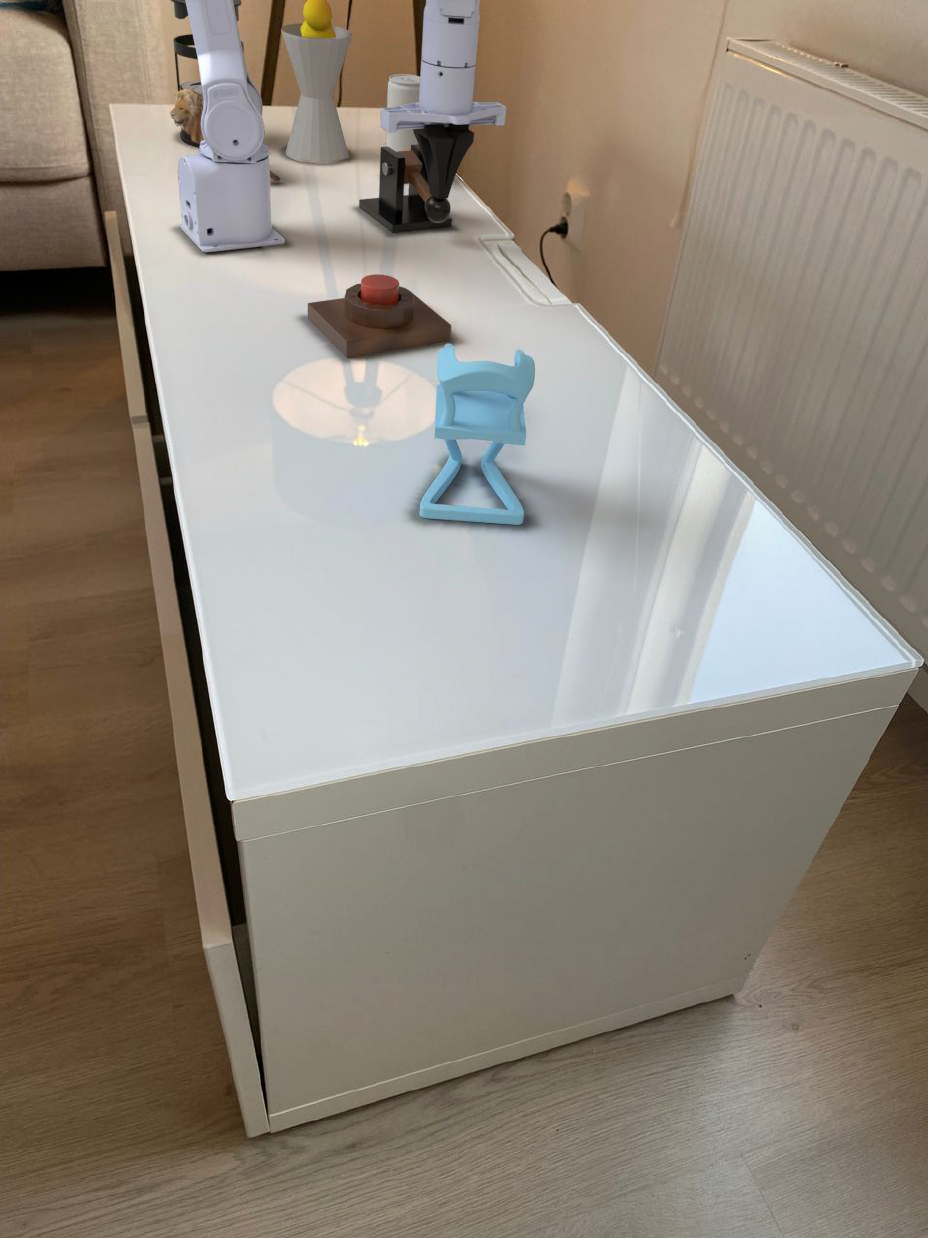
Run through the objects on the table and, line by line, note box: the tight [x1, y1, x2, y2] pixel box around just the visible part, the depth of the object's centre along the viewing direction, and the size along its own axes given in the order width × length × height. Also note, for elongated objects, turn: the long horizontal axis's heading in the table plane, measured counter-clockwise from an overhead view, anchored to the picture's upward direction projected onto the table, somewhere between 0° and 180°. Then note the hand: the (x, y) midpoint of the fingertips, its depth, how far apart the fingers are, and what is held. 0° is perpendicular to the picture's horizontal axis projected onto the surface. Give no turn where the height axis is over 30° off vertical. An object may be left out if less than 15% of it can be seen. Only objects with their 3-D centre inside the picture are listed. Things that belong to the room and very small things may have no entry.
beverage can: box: [385, 73, 420, 151], centre depth 130 cm, size 5×5×12 cm
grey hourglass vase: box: [280, 0, 353, 163], centre depth 127 cm, size 9×9×35 cm
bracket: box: [358, 144, 453, 234], centre depth 119 cm, size 9×8×8 cm
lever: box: [396, 150, 452, 223], centre depth 116 cm, size 11×3×3 cm, turn 30°
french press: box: [170, 0, 245, 148], centre depth 132 cm, size 12×9×23 cm
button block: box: [307, 282, 452, 359], centre depth 96 cm, size 11×9×4 cm
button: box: [360, 273, 400, 305], centre depth 95 cm, size 4×4×2 cm
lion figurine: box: [169, 89, 282, 182], centre depth 126 cm, size 15×5×9 cm, turn 70°
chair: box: [419, 343, 536, 526], centre depth 73 cm, size 8×8×12 cm
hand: (438, 195), depth 114 cm, fingers closed, pressing on lever
